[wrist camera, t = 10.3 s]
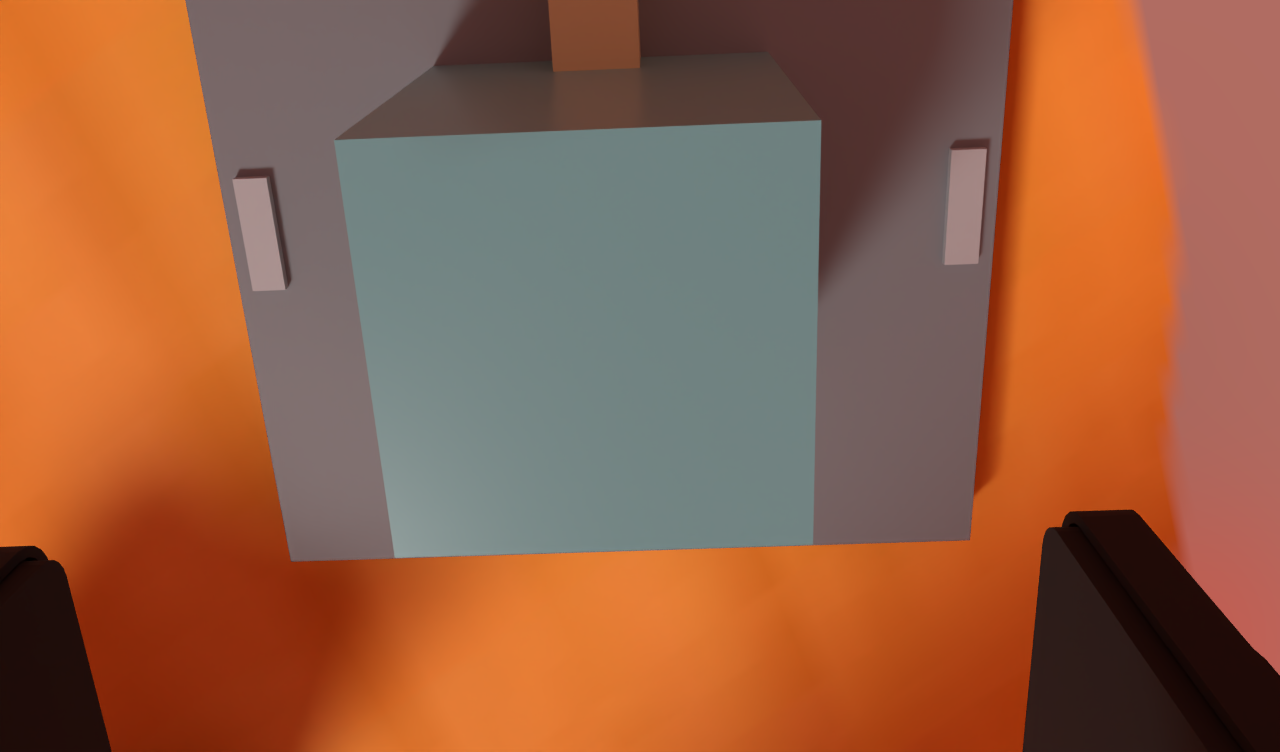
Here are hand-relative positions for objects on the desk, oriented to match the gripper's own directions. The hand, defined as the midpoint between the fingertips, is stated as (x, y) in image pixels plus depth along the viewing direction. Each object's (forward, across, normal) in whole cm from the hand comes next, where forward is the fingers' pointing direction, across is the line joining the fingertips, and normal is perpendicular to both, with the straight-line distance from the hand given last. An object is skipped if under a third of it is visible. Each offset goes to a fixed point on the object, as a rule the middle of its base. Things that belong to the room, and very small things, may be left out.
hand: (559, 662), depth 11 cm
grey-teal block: (+14, 0, -1) cm, 14 cm away
